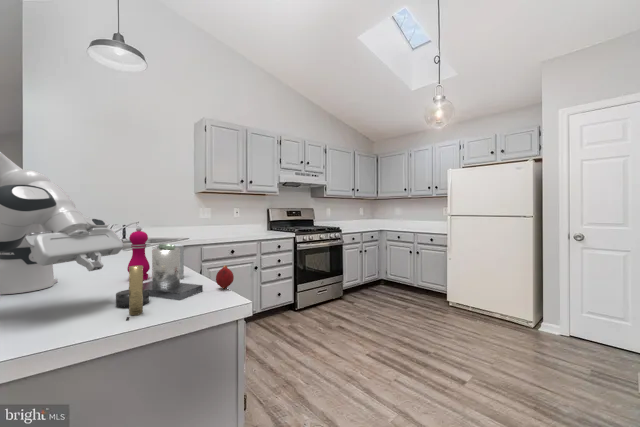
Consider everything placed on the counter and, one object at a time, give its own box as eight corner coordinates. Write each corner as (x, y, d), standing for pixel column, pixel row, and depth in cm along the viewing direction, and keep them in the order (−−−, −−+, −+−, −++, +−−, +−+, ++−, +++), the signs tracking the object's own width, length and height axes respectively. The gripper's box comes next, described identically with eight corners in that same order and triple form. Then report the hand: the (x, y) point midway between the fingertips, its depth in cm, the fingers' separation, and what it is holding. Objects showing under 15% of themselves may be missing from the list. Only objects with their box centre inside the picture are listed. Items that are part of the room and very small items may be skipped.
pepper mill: (145, 276, 117) (145, 226, 117) (152, 279, 112) (152, 227, 112) (124, 279, 111) (124, 226, 111) (131, 282, 107) (131, 227, 106)
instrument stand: (68, 311, 77) (68, 252, 77) (154, 285, 103) (154, 241, 103) (127, 320, 71) (127, 256, 71) (202, 291, 97) (203, 244, 97)
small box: (178, 275, 119) (178, 243, 119) (183, 278, 114) (184, 245, 114) (156, 278, 113) (156, 245, 113) (160, 282, 109) (161, 246, 108)
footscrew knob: (117, 317, 72) (117, 269, 72) (115, 301, 85) (115, 259, 85) (154, 311, 77) (154, 265, 77) (147, 296, 90) (147, 257, 89)
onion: (230, 291, 98) (230, 267, 98) (213, 291, 98) (213, 267, 98) (235, 286, 104) (235, 263, 103) (219, 286, 104) (219, 263, 103)
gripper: (27, 224, 69) (57, 268, 66) (111, 220, 89) (137, 254, 86) (15, 242, 70) (43, 286, 68) (100, 234, 90) (125, 269, 87)
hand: (96, 268), depth 77 cm, fingers closed
